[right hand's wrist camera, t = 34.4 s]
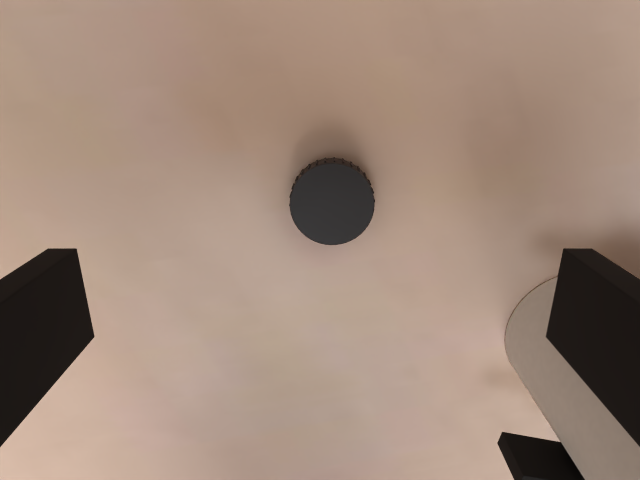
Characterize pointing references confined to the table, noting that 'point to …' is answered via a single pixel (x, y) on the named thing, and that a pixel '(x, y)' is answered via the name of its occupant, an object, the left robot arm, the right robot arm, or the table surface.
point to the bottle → (567, 395)
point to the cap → (332, 201)
